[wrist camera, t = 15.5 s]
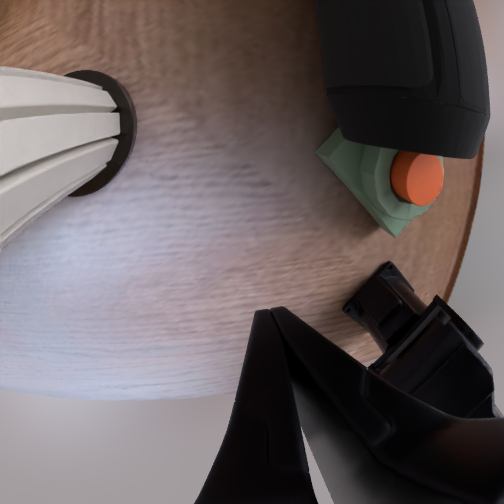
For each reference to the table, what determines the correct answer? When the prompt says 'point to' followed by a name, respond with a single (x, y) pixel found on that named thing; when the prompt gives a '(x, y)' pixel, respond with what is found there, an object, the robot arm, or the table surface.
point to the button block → (370, 180)
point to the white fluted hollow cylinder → (48, 142)
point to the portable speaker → (406, 74)
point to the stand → (124, 138)
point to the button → (416, 177)
